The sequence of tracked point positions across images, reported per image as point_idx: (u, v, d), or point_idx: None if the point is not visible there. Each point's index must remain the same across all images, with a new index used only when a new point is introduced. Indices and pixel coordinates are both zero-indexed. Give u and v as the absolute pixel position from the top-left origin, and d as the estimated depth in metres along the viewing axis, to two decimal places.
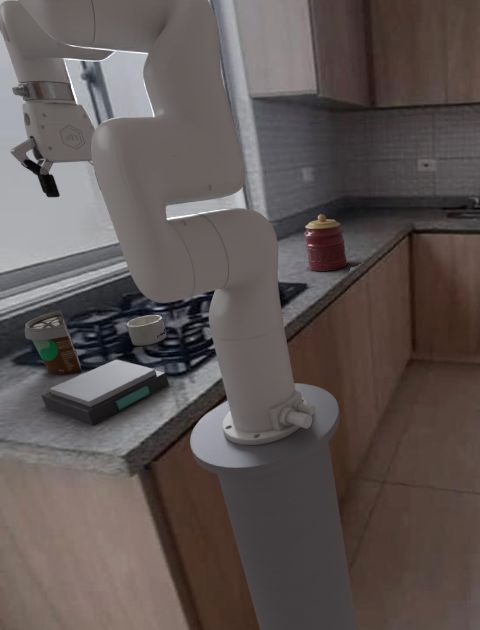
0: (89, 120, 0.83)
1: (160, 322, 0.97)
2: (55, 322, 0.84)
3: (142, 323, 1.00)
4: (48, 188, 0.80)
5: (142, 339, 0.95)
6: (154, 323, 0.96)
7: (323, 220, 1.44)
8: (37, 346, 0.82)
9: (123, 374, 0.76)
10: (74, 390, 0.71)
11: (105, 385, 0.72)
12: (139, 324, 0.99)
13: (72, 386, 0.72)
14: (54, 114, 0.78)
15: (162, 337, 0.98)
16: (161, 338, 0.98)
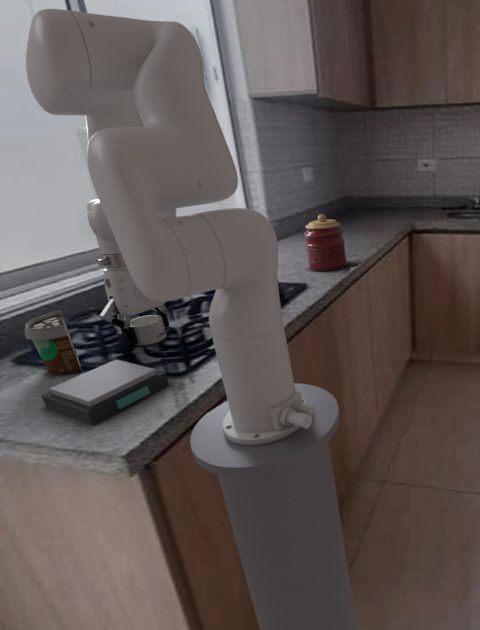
0: None
1: (160, 322, 0.97)
2: (55, 322, 0.84)
3: (142, 323, 1.00)
4: (129, 338, 0.94)
5: (142, 339, 0.95)
6: (154, 323, 0.96)
7: (323, 220, 1.44)
8: (37, 346, 0.82)
9: (123, 374, 0.76)
10: (74, 390, 0.71)
11: (105, 385, 0.72)
12: (139, 324, 0.99)
13: (72, 386, 0.72)
14: (130, 276, 0.91)
15: (162, 337, 0.98)
16: (161, 338, 0.98)
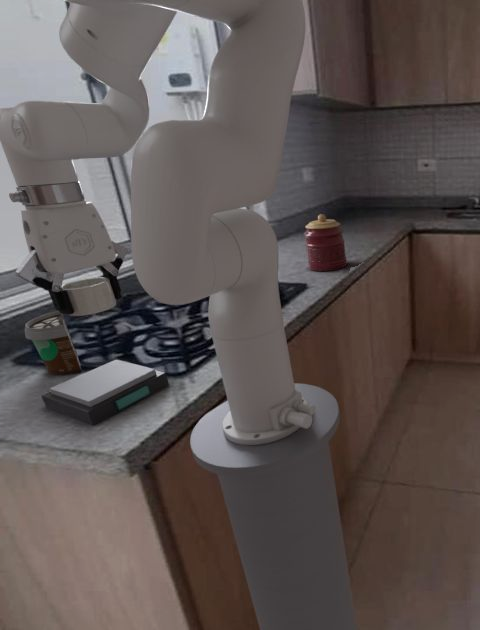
0: (99, 219, 0.71)
1: (105, 285, 0.73)
2: (55, 322, 0.84)
3: None
4: (61, 305, 0.69)
5: (79, 307, 0.71)
6: (96, 286, 0.71)
7: (323, 220, 1.44)
8: (37, 346, 0.82)
9: (123, 374, 0.76)
10: (74, 390, 0.71)
11: (105, 385, 0.72)
12: None
13: (72, 386, 0.72)
14: (58, 219, 0.66)
15: (109, 306, 0.73)
16: (107, 307, 0.73)
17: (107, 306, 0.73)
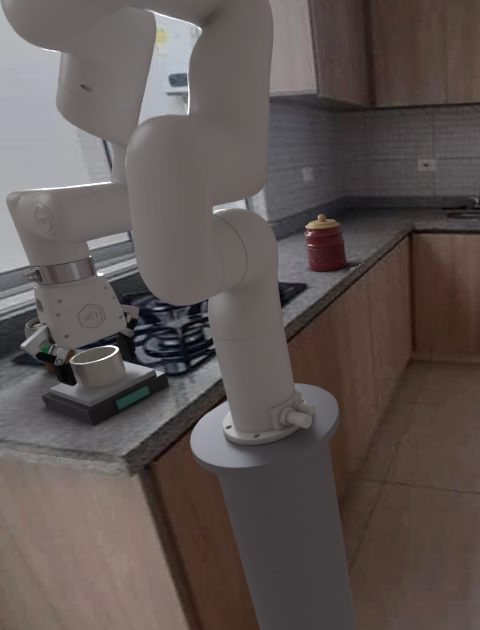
0: (110, 290, 0.72)
1: (116, 357, 0.73)
2: None
3: (94, 357, 0.76)
4: (64, 378, 0.68)
5: (90, 380, 0.71)
6: (107, 359, 0.72)
7: (323, 220, 1.44)
8: None
9: None
10: (74, 390, 0.71)
11: None
12: (89, 358, 0.75)
13: (72, 386, 0.72)
14: (71, 296, 0.66)
15: (119, 376, 0.74)
16: (117, 378, 0.73)
17: (117, 377, 0.73)
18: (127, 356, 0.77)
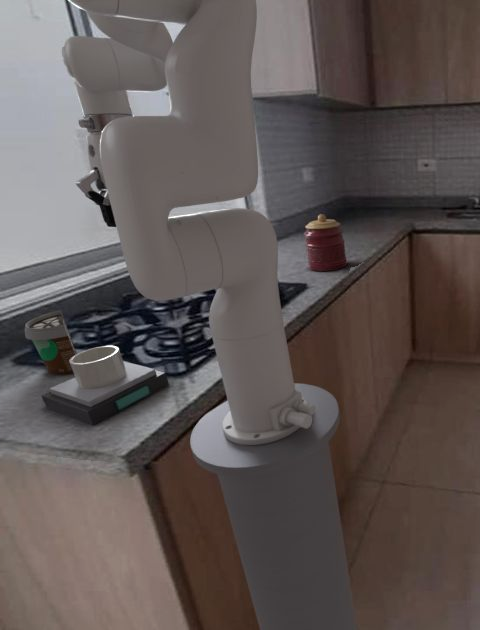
0: None
1: (116, 357, 0.73)
2: (55, 322, 0.84)
3: (94, 357, 0.76)
4: (110, 218, 0.80)
5: (90, 380, 0.71)
6: (107, 359, 0.72)
7: (323, 220, 1.44)
8: (37, 346, 0.82)
9: None
10: (74, 390, 0.71)
11: None
12: (89, 358, 0.75)
13: (72, 386, 0.72)
14: None
15: (119, 376, 0.74)
16: (117, 378, 0.73)
17: (117, 377, 0.73)
18: None
